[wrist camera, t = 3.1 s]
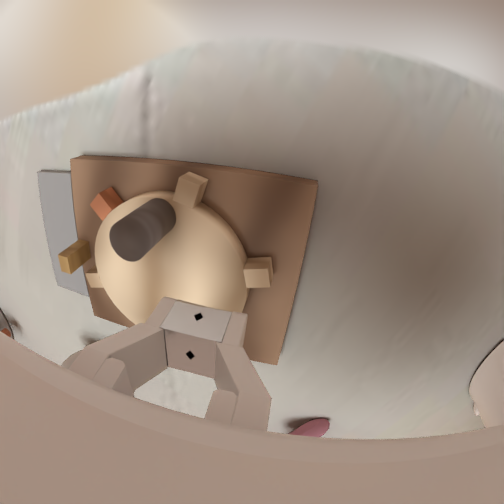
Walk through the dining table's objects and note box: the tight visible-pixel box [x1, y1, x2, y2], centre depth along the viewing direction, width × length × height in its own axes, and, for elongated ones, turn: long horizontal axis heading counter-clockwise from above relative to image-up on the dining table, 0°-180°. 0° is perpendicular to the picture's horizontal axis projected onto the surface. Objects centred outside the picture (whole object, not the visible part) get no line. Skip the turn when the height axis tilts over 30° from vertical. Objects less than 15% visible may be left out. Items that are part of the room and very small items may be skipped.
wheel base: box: [58, 155, 318, 365], centre depth 21 cm, size 19×16×4 cm
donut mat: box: [37, 170, 89, 297], centre depth 25 cm, size 5×13×1 cm, turn 174°
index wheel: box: [85, 172, 273, 325], centre depth 20 cm, size 15×15×6 cm
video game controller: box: [289, 418, 330, 437], centre depth 30 cm, size 10×5×7 cm, turn 12°
